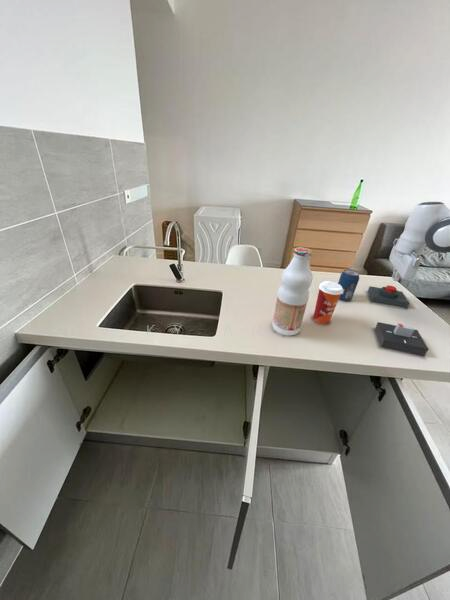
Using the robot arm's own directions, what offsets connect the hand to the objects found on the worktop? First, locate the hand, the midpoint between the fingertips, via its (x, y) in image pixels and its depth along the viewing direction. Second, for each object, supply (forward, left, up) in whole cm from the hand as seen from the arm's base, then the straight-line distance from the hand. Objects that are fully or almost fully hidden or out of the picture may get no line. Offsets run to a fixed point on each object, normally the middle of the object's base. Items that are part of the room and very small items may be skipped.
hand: (394, 279), depth 99 cm
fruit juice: (+39, +36, -10) cm, 54 cm away
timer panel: (+3, +30, -10) cm, 32 cm away
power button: (0, 0, -5) cm, 5 cm away
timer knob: (+3, +30, -6) cm, 31 cm away
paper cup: (+27, +26, -10) cm, 39 cm away
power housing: (0, 0, -10) cm, 10 cm away
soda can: (+18, +6, -10) cm, 21 cm away
